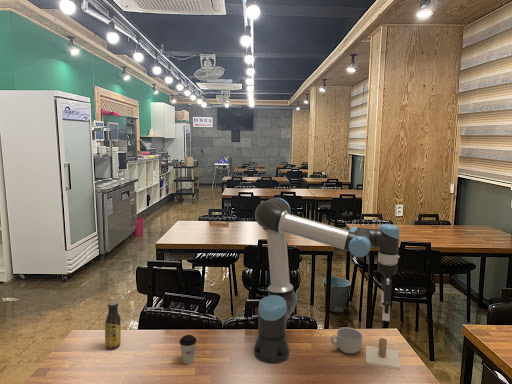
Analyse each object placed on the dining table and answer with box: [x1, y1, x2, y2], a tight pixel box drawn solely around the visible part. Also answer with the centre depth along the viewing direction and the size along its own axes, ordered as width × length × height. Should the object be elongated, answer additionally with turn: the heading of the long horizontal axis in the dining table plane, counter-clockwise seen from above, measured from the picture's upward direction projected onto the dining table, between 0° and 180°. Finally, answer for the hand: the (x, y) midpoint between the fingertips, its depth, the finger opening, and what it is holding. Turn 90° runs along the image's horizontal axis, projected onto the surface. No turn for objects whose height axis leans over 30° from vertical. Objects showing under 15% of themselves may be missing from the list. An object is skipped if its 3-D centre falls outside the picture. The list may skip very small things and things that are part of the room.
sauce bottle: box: [104, 300, 122, 350], centre depth 159 cm, size 7×6×20 cm
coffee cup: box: [179, 334, 197, 365], centre depth 149 cm, size 7×7×10 cm
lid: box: [365, 337, 401, 371], centre depth 153 cm, size 13×13×8 cm
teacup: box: [330, 326, 363, 355], centre depth 159 cm, size 14×11×8 cm
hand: (384, 313), depth 151 cm, fingers open, 13 cm apart
